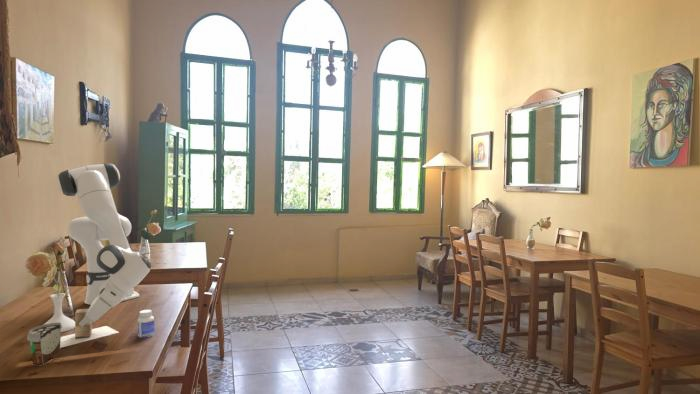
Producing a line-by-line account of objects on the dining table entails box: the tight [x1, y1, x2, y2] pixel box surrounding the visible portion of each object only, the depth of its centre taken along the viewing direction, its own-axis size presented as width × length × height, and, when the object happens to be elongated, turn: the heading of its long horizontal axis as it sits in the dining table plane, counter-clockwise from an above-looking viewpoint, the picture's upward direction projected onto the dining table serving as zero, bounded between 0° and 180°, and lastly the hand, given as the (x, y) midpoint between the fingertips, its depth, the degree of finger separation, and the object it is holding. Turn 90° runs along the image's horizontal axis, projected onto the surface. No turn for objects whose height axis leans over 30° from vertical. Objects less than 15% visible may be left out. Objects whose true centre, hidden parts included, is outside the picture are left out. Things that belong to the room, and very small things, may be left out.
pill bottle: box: [137, 309, 156, 339], centre depth 160 cm, size 5×5×10 cm
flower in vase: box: [41, 265, 75, 333], centre depth 165 cm, size 13×11×25 cm
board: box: [60, 325, 120, 349], centre depth 158 cm, size 20×11×1 cm, turn 141°
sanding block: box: [74, 308, 93, 339], centre depth 158 cm, size 4×4×9 cm
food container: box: [26, 322, 62, 366], centre depth 141 cm, size 12×6×10 cm, turn 5°
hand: (81, 322), depth 158 cm, fingers closed on sanding block, 4 cm apart
